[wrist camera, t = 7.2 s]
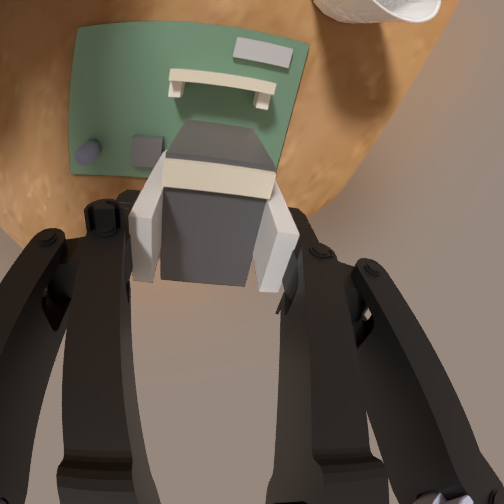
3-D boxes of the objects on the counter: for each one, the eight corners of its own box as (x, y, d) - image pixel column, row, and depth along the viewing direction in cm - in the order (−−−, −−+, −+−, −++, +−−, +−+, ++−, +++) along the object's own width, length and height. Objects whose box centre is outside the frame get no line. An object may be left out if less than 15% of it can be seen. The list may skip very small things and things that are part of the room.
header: (163, 172, 26) (157, 187, 23) (176, 68, 20) (170, 68, 17) (245, 181, 28) (249, 197, 25) (268, 81, 22) (276, 83, 19)
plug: (176, 207, 18) (159, 283, 12) (186, 119, 14) (164, 155, 9) (235, 214, 19) (245, 291, 13) (253, 128, 15) (277, 169, 10)
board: (72, 172, 24) (60, 183, 22) (79, 27, 15) (66, 26, 13) (269, 190, 29) (274, 202, 27) (308, 45, 20) (318, 43, 17)
